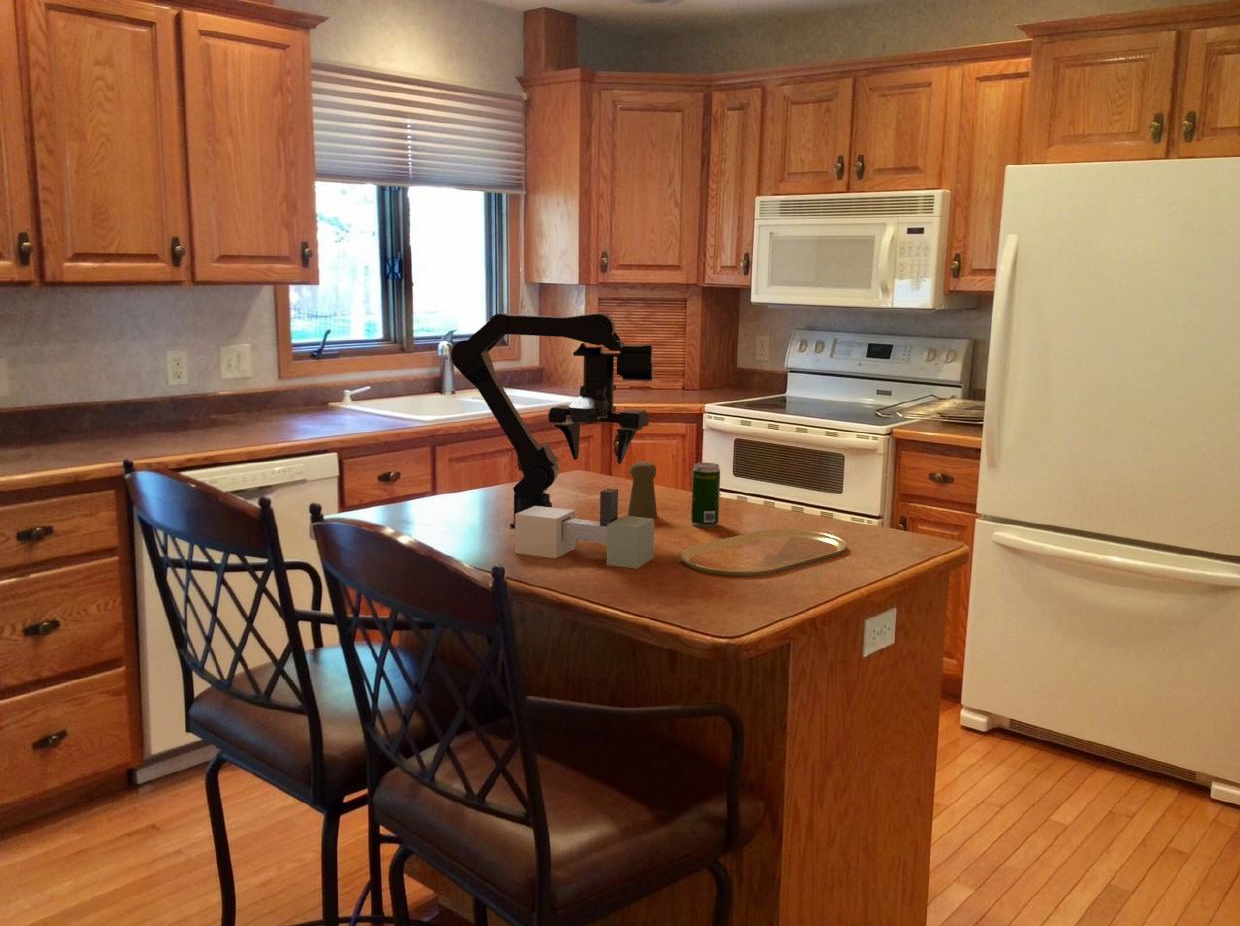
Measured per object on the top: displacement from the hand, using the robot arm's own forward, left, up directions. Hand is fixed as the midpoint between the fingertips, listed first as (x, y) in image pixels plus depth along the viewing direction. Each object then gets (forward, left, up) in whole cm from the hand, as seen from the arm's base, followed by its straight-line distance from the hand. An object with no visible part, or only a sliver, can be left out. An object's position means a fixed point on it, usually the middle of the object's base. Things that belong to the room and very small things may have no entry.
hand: (597, 461), depth 207 cm
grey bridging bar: (+9, -20, -10) cm, 24 cm away
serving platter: (+35, -5, -14) cm, 38 cm away
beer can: (+18, +12, -13) cm, 25 cm away
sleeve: (-1, -20, -13) cm, 24 cm away
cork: (+4, +14, -13) cm, 20 cm away
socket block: (+15, -20, -13) cm, 28 cm away
